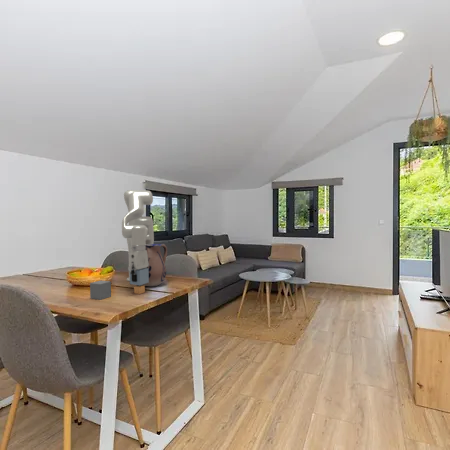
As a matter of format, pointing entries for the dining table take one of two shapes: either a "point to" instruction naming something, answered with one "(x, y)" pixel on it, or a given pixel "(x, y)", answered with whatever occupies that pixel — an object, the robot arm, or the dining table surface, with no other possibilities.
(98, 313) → the dining table surface
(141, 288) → the letter block
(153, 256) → the ceramic pitcher
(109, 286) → the dark grey block
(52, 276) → the dining table surface
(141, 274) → the blue-gray block
